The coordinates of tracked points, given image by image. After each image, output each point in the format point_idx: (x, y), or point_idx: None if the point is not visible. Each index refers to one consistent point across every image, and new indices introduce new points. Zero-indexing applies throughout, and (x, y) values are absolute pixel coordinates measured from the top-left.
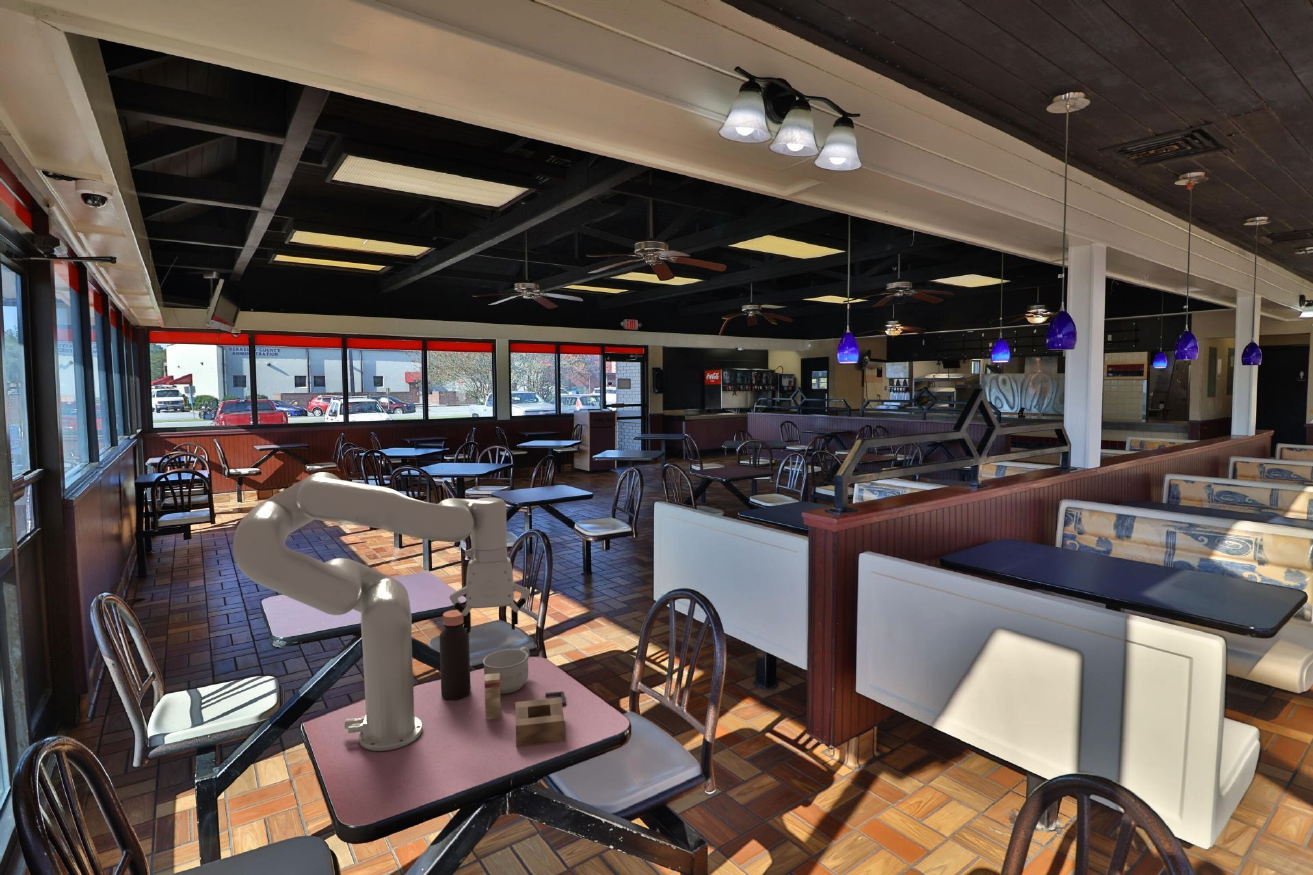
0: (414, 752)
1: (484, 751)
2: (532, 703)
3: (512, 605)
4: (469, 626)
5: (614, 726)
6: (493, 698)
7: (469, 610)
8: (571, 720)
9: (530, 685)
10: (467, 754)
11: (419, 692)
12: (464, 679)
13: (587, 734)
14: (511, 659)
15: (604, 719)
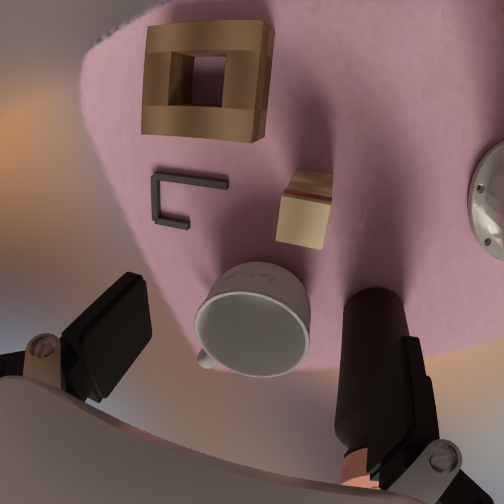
0: (489, 106)
1: (348, 37)
2: (208, 122)
3: (39, 379)
4: (405, 366)
5: (88, 73)
6: (308, 183)
7: (406, 476)
8: None
9: None
10: (386, 41)
11: (433, 339)
12: (361, 315)
13: (130, 51)
14: (240, 351)
15: (97, 100)
